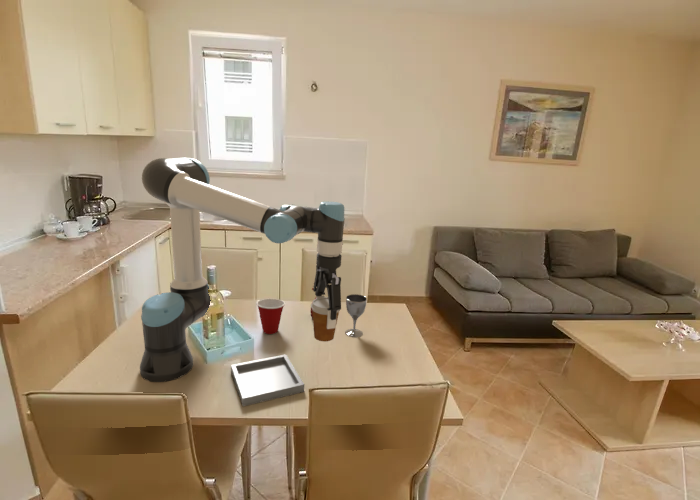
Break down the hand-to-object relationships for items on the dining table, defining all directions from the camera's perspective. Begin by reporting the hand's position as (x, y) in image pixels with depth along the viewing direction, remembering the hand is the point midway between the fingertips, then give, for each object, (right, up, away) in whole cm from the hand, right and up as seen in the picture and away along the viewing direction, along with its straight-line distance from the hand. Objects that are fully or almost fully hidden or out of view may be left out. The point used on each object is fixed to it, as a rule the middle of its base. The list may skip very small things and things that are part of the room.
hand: (325, 321), depth 122 cm
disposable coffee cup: (0, -5, +2) cm, 6 cm away
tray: (-18, -18, -4) cm, 25 cm away
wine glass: (+10, -11, +30) cm, 33 cm away
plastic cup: (-23, -9, +28) cm, 37 cm away
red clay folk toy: (-6, -6, +42) cm, 43 cm away
